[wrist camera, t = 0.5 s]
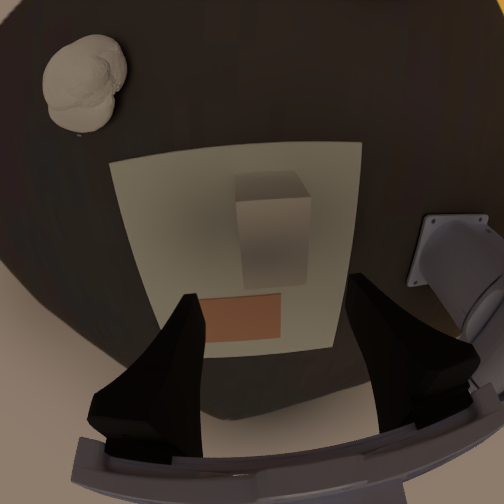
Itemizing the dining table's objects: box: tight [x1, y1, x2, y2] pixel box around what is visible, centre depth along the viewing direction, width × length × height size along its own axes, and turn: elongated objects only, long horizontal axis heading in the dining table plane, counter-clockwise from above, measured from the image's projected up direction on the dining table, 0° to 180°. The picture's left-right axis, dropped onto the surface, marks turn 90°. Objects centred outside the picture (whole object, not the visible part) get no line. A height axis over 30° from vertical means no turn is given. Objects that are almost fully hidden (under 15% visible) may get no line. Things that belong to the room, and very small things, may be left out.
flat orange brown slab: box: [198, 293, 281, 343], centre depth 26 cm, size 8×6×1 cm
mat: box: [109, 141, 362, 358], centre depth 24 cm, size 18×22×1 cm
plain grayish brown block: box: [236, 170, 311, 290], centre depth 18 cm, size 4×6×5 cm, turn 3°
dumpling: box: [43, 35, 127, 136], centre depth 13 cm, size 7×5×4 cm
